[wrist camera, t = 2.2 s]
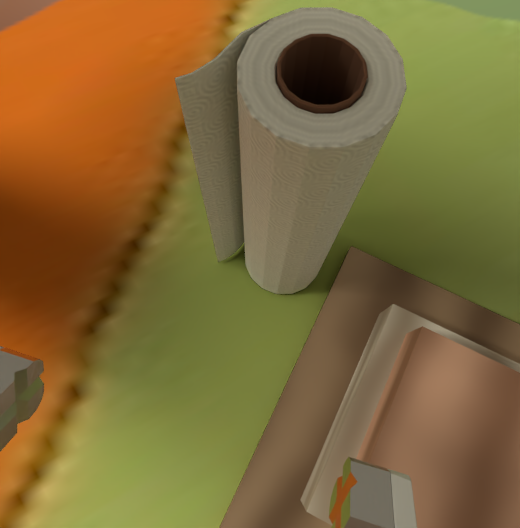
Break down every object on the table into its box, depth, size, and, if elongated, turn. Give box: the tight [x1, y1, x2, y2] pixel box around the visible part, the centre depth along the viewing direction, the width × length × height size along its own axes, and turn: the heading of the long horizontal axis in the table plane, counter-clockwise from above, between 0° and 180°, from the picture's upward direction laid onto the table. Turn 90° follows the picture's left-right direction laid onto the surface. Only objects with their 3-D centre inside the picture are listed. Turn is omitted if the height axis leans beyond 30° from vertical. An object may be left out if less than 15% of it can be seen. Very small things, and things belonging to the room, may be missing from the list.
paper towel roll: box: [175, 8, 406, 294], centre depth 26 cm, size 7×6×21 cm
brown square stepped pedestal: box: [220, 246, 520, 528], centre depth 28 cm, size 22×22×8 cm
